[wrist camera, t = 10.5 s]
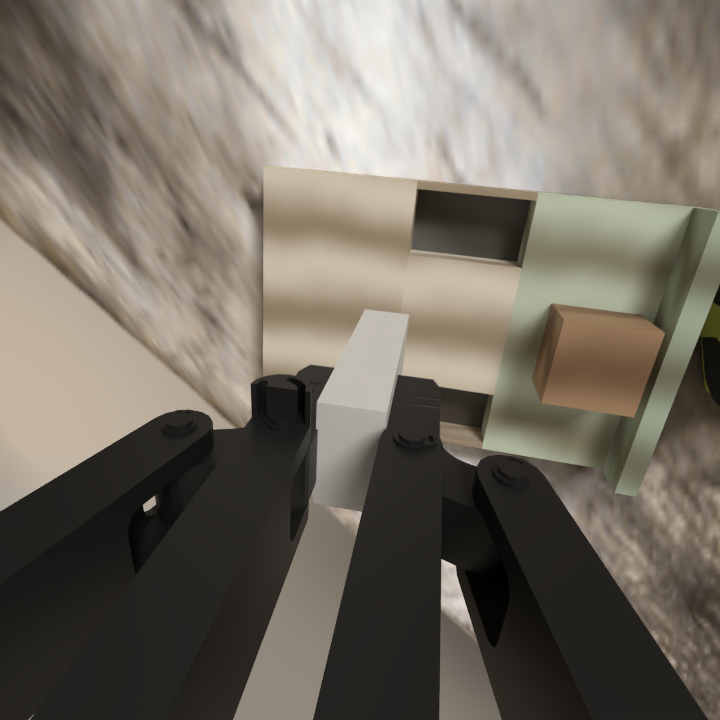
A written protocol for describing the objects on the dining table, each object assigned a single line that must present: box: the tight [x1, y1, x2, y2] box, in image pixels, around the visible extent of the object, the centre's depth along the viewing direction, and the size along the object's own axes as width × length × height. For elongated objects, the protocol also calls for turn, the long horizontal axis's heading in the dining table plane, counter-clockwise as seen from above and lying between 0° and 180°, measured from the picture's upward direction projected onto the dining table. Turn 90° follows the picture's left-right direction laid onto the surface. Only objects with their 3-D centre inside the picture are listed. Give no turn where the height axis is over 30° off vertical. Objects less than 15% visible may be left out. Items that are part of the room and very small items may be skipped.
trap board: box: [263, 166, 720, 497], centre depth 35 cm, size 20×30×6 cm, turn 84°
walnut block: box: [532, 303, 665, 418], centre depth 32 cm, size 6×6×4 cm
